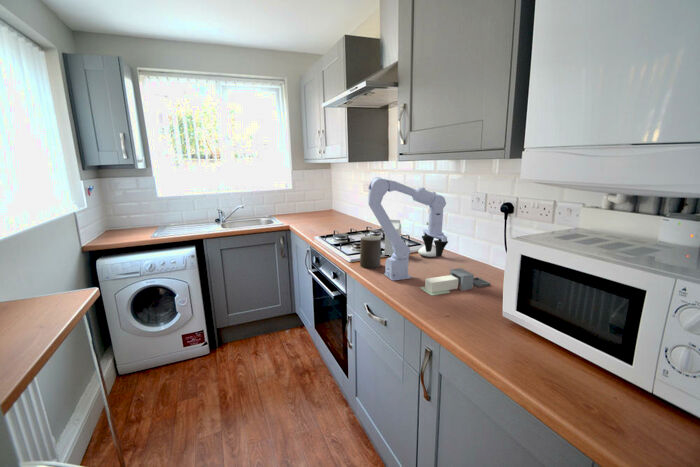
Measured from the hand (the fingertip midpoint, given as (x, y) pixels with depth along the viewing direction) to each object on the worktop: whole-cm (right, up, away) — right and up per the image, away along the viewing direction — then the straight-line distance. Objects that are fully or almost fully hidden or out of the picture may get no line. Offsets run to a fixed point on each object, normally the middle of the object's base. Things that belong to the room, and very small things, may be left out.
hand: (433, 253), depth 137 cm
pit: (+16, -12, -6) cm, 21 cm away
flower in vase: (+6, -3, +32) cm, 33 cm away
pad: (-3, -13, -13) cm, 19 cm away
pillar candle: (-26, -7, +16) cm, 31 cm away
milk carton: (-13, -3, +33) cm, 36 cm away
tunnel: (+8, -12, -9) cm, 18 cm away
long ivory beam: (0, -13, -12) cm, 18 cm away
